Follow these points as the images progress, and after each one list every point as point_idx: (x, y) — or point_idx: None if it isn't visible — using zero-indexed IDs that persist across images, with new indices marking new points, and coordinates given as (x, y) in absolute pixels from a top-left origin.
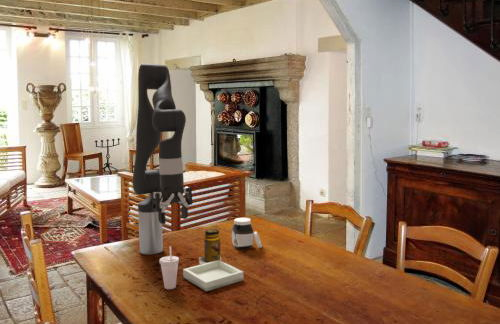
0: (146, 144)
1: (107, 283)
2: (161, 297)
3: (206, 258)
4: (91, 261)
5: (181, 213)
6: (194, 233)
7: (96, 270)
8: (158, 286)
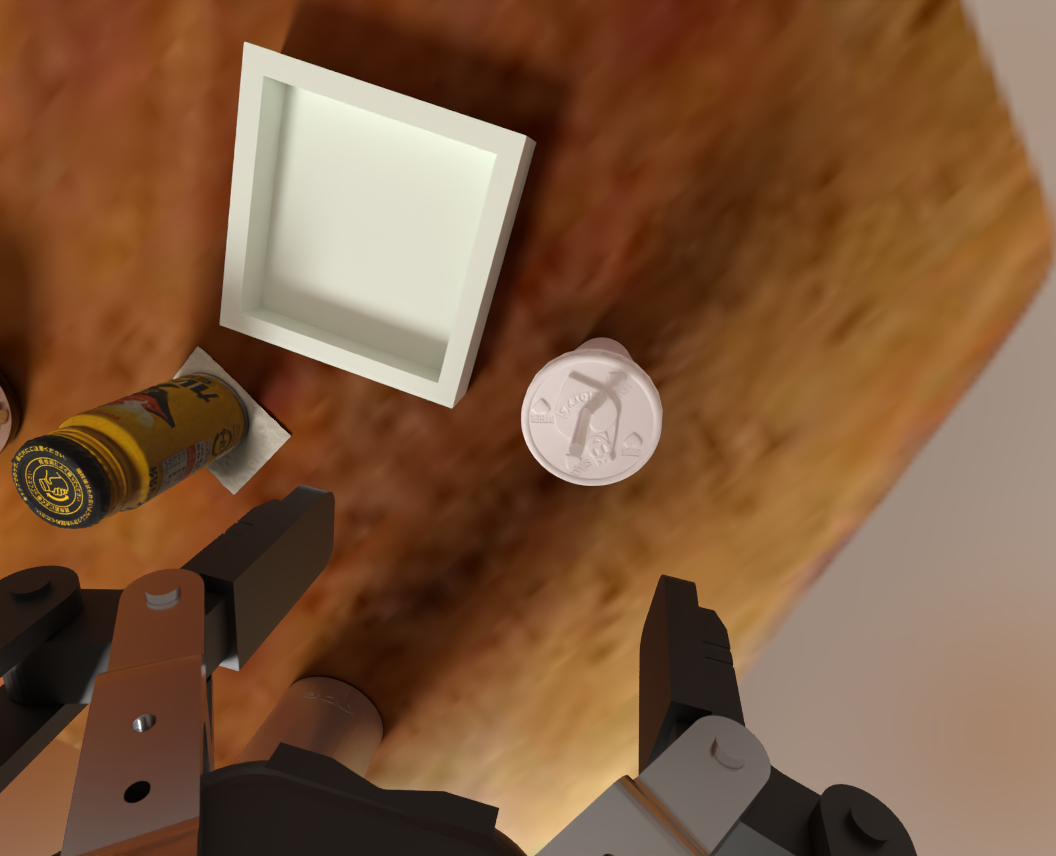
0: None
1: (730, 648)
2: (736, 312)
3: (235, 429)
4: None
5: (297, 597)
6: None
7: None
8: None
